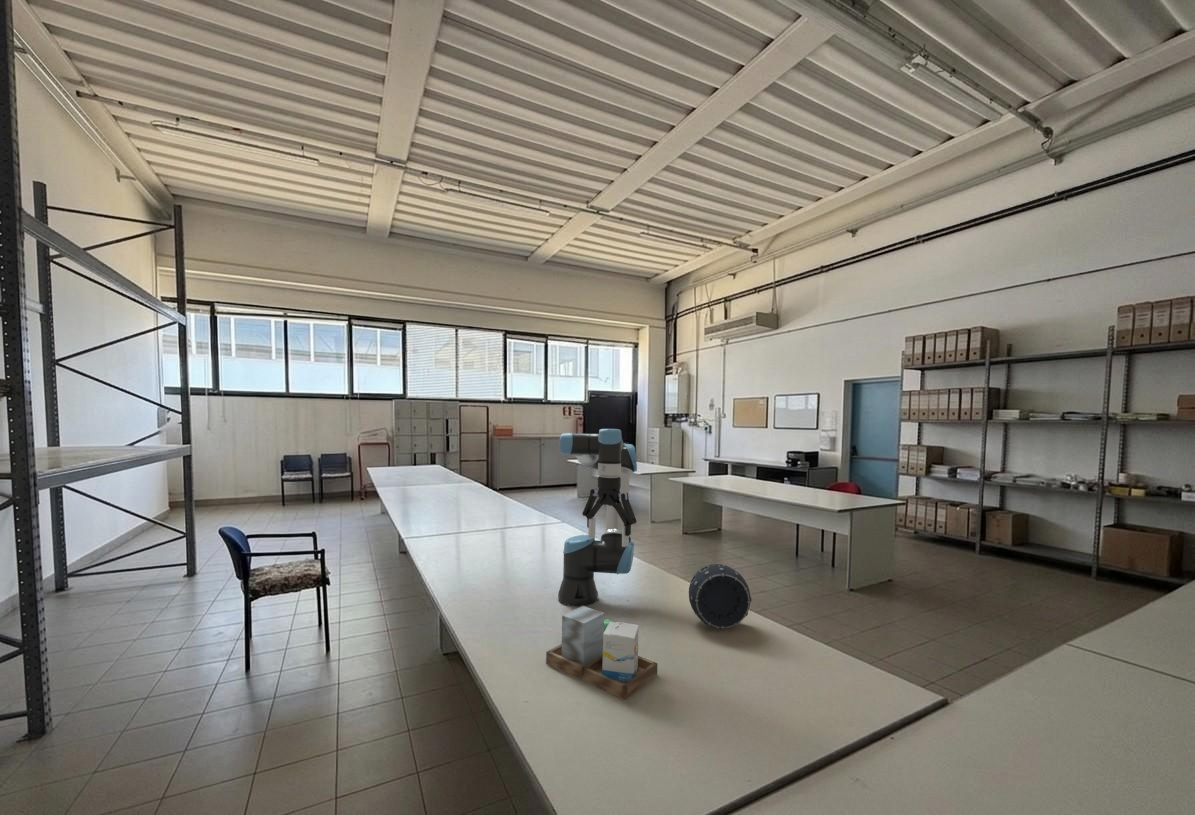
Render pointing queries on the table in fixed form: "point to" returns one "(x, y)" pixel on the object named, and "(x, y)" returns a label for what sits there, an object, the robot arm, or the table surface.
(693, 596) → the dark round pouf
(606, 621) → the button
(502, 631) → the table surface
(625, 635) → the ink box
